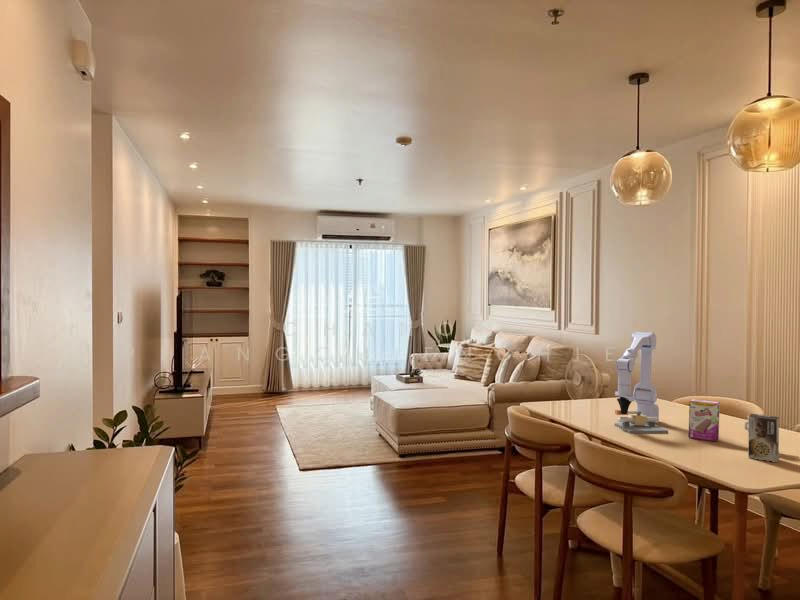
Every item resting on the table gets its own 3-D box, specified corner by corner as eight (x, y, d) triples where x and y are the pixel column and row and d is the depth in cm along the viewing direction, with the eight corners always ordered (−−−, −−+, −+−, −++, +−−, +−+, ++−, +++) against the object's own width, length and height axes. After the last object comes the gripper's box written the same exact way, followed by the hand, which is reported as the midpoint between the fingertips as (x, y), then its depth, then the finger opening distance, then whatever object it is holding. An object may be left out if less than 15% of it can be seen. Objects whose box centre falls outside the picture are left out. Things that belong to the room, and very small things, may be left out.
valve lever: (639, 413, 246) (639, 409, 246) (642, 414, 243) (642, 411, 243) (614, 413, 245) (614, 409, 245) (617, 414, 242) (617, 411, 242)
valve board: (651, 425, 250) (651, 412, 250) (668, 433, 236) (668, 418, 236) (614, 425, 249) (614, 412, 249) (629, 433, 235) (629, 418, 235)
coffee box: (779, 459, 198) (779, 416, 198) (776, 463, 193) (777, 419, 193) (750, 454, 204) (751, 413, 204) (747, 458, 199) (748, 415, 199)
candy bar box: (688, 438, 228) (688, 400, 227) (689, 435, 232) (690, 398, 232) (718, 442, 221) (719, 403, 221) (719, 440, 225) (719, 401, 225)
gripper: (608, 382, 249) (608, 410, 249) (623, 387, 235) (623, 417, 235) (623, 382, 250) (623, 410, 250) (639, 387, 235) (638, 417, 235)
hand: (624, 414), depth 242 cm, fingers closed
